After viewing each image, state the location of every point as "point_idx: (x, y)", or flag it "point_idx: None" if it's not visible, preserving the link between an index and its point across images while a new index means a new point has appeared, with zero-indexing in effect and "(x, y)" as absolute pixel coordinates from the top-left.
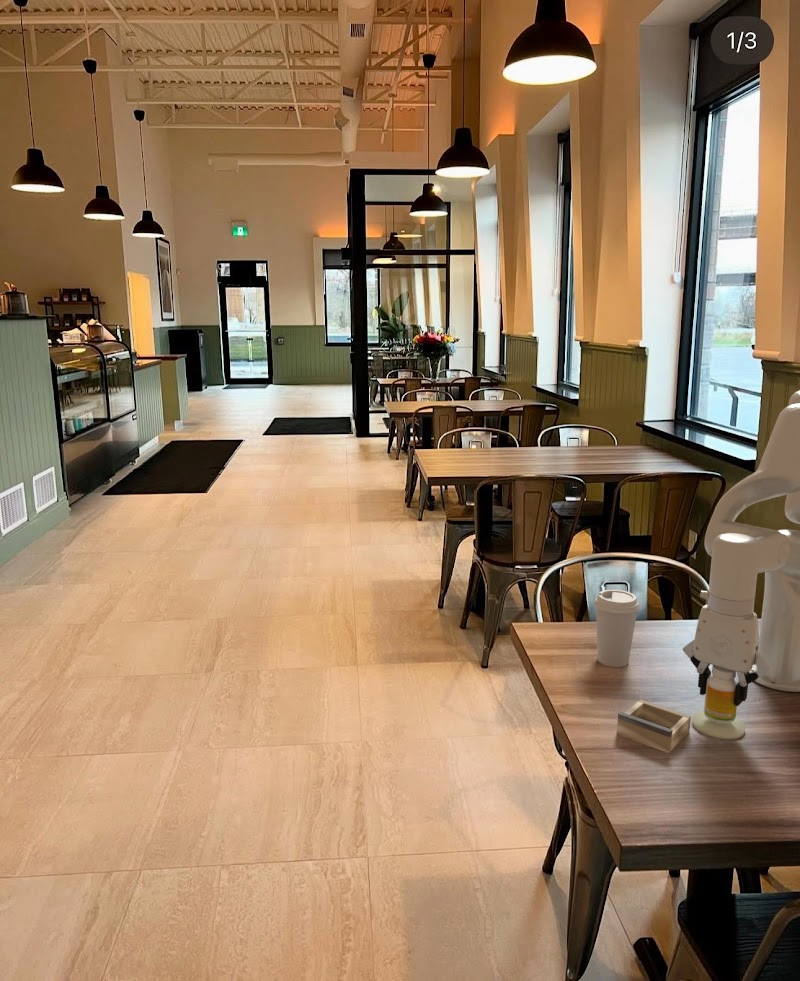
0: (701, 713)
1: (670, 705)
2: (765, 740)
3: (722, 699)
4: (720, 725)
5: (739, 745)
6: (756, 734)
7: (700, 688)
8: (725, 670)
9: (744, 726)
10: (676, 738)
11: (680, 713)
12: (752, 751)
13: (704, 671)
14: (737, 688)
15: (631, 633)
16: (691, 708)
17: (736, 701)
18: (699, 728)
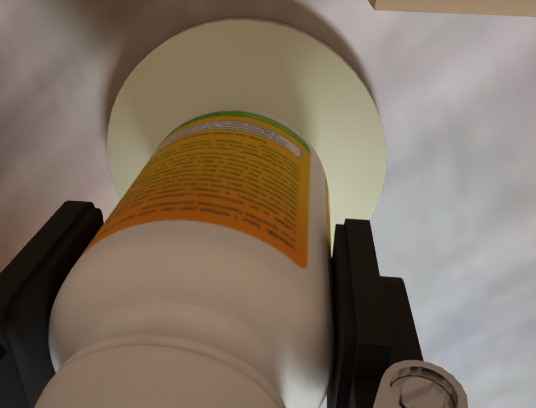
0: (350, 207)
1: (526, 225)
2: (22, 161)
3: (159, 182)
4: None
5: (82, 25)
6: (78, 191)
7: (371, 247)
8: None
9: None
10: None
11: (457, 2)
12: (4, 4)
13: (373, 405)
14: (2, 290)
15: None
16: (415, 253)
17: (66, 217)
18: (314, 40)
